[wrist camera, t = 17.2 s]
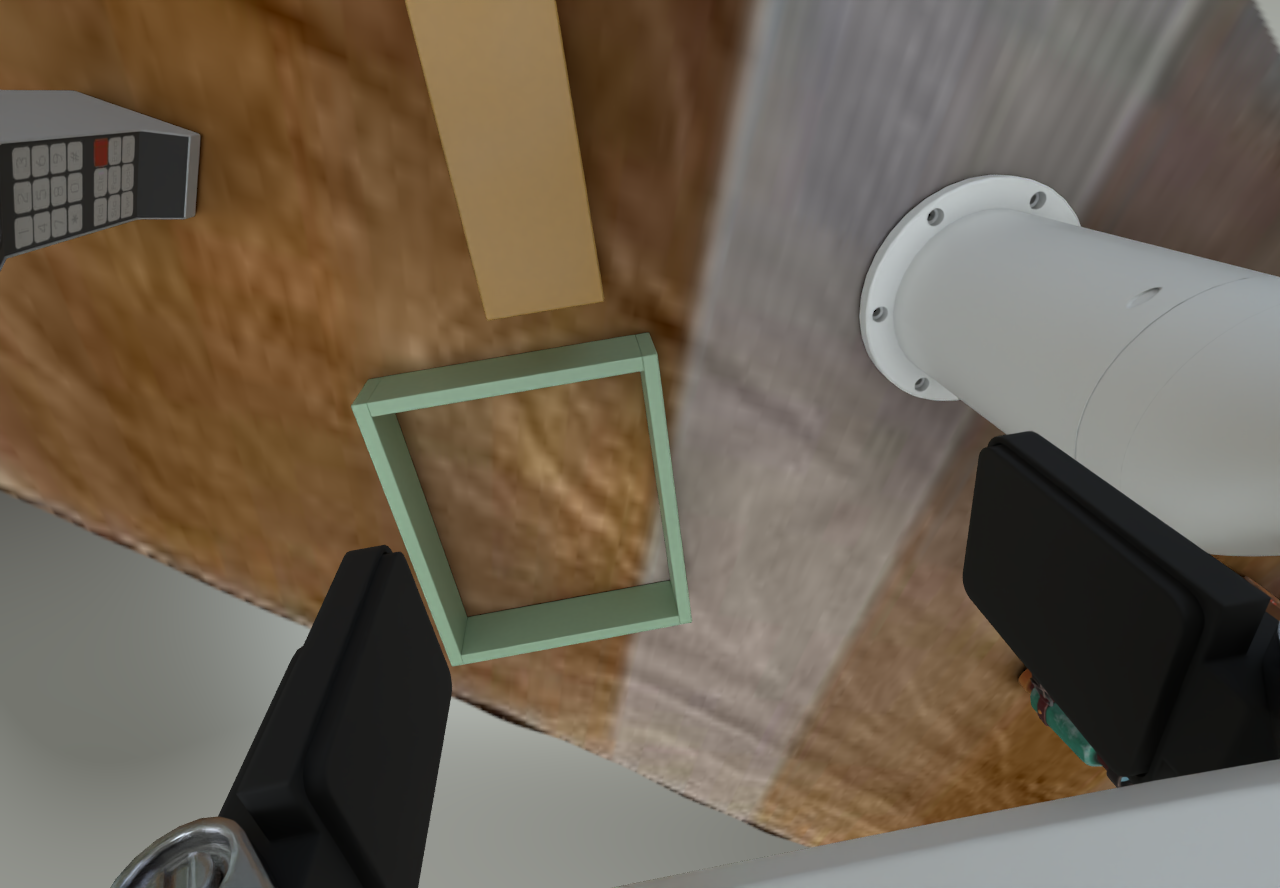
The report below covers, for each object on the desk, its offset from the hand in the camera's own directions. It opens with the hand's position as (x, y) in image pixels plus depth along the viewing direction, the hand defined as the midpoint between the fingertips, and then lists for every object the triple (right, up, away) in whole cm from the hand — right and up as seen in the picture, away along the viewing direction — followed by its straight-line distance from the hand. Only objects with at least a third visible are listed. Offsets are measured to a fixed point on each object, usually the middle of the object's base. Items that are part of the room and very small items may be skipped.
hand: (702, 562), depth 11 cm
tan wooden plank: (-7, +17, +20) cm, 27 cm away
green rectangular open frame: (-7, -1, +30) cm, 31 cm away
